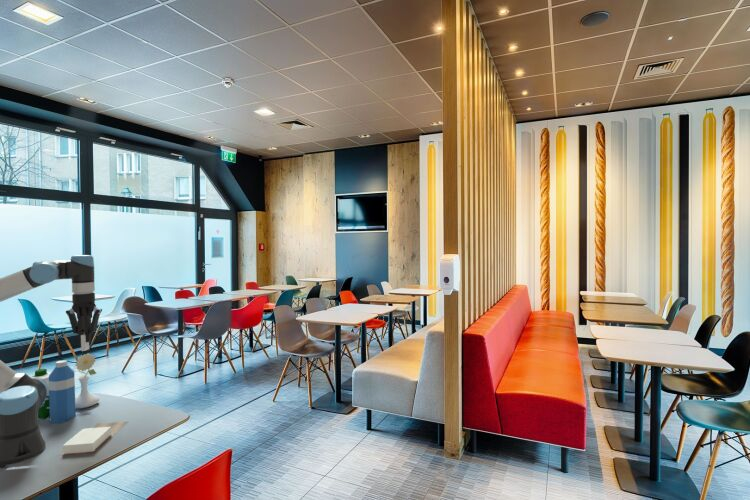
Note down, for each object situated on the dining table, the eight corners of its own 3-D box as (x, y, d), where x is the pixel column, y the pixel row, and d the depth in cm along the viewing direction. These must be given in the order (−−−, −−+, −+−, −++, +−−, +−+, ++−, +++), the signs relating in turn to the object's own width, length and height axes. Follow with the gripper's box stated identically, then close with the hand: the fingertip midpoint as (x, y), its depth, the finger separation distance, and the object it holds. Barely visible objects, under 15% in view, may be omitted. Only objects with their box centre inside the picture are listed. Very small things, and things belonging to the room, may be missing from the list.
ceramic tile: (83, 428, 156) (62, 445, 143) (111, 426, 157) (93, 443, 145) (83, 437, 156) (62, 454, 143) (111, 434, 157) (93, 452, 145)
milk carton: (47, 410, 184) (46, 366, 183) (64, 411, 182) (62, 367, 181) (27, 418, 175) (26, 373, 174) (44, 420, 173) (43, 374, 173)
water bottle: (80, 417, 176) (78, 360, 175) (54, 425, 168) (52, 366, 167) (71, 412, 181) (69, 357, 180) (45, 420, 173) (43, 362, 172)
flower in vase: (63, 409, 184) (61, 355, 184) (87, 399, 195) (86, 348, 194) (83, 412, 180) (82, 357, 180) (107, 403, 191) (106, 350, 190)
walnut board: (58, 457, 143) (58, 455, 143) (98, 425, 168) (98, 423, 168) (94, 454, 144) (94, 452, 144) (128, 423, 169) (128, 421, 169)
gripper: (105, 291, 169) (107, 346, 169) (72, 292, 167) (73, 348, 168) (95, 293, 161) (97, 351, 162) (60, 294, 160) (62, 353, 160)
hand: (85, 349), depth 165 cm, fingers closed
